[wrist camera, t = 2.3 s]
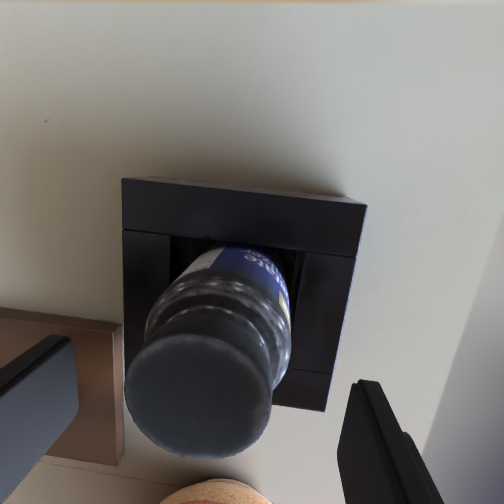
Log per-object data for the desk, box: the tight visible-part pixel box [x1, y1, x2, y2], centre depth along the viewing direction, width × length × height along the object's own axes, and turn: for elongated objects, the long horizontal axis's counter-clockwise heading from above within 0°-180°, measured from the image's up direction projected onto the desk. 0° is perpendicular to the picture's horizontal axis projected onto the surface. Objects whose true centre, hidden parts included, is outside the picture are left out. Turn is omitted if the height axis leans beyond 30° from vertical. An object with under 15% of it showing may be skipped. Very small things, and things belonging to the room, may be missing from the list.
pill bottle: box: [124, 241, 291, 460], centre depth 14 cm, size 6×6×11 cm
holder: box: [121, 176, 368, 412], centre depth 18 cm, size 12×12×4 cm
